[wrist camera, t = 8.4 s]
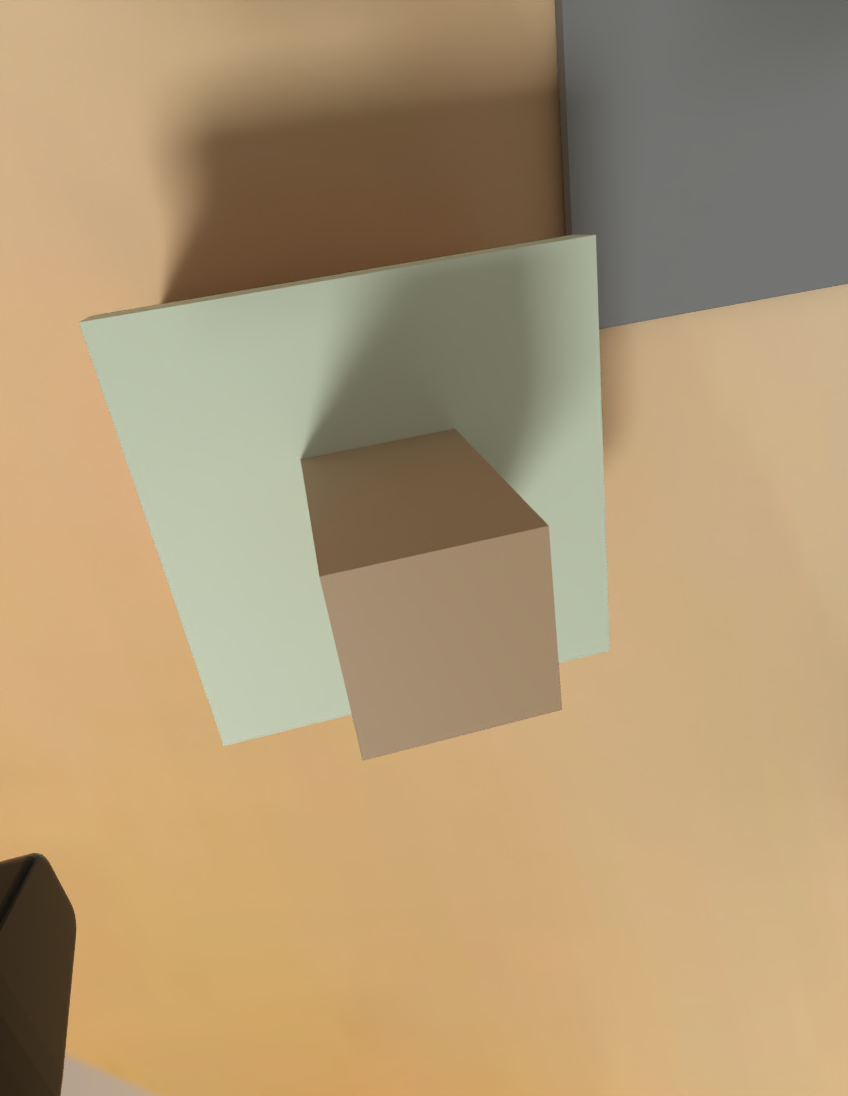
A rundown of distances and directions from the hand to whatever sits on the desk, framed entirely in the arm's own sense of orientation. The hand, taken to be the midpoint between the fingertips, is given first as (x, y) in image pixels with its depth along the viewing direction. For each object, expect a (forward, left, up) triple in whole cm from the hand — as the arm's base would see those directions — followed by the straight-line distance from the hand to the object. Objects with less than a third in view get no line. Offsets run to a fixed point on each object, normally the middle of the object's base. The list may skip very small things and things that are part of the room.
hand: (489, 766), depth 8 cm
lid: (0, 0, -8) cm, 8 cm away
